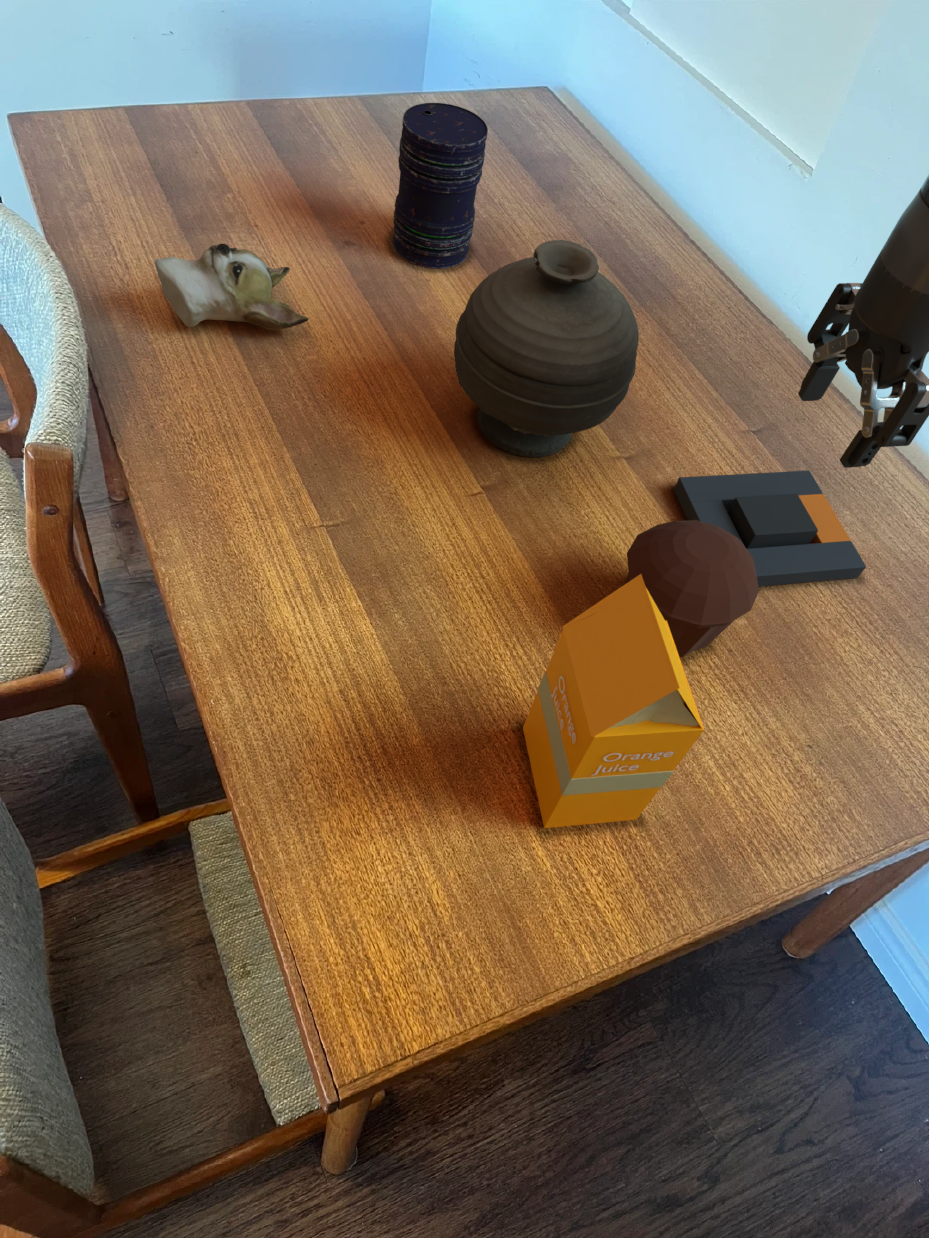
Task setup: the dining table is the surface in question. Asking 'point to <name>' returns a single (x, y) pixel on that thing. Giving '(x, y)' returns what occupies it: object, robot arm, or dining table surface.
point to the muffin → (694, 578)
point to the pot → (545, 349)
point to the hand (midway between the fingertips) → (828, 430)
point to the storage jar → (438, 183)
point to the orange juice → (610, 713)
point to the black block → (772, 521)
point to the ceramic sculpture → (225, 288)
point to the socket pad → (779, 564)
